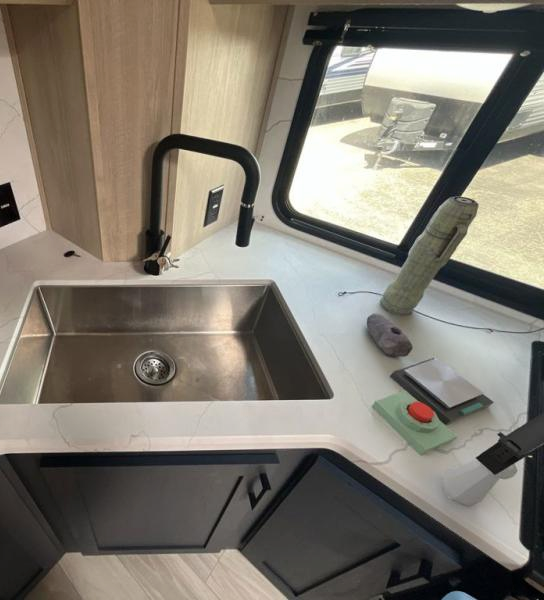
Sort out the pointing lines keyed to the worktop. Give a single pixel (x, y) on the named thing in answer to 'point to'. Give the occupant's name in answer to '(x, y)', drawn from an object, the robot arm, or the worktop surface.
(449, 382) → the scale pan
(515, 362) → the worktop surface
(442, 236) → the thermos
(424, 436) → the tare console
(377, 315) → the perforated stone tool
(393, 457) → the worktop surface
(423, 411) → the tare button
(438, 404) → the scale base
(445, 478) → the salt shaker
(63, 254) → the worktop surface
